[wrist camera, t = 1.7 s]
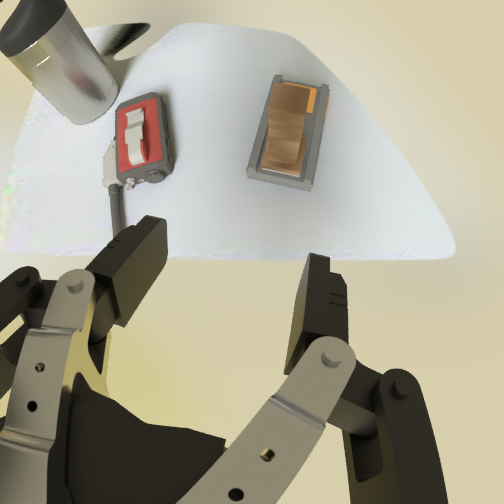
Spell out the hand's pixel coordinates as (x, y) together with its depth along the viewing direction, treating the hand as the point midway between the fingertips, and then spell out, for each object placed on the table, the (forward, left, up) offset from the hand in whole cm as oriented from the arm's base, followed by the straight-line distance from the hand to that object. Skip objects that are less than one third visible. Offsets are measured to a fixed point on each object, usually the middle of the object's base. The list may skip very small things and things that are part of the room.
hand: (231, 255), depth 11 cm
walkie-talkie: (-17, +10, -21) cm, 29 cm away
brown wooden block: (0, +14, -18) cm, 23 cm away
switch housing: (0, +18, -20) cm, 27 cm away
